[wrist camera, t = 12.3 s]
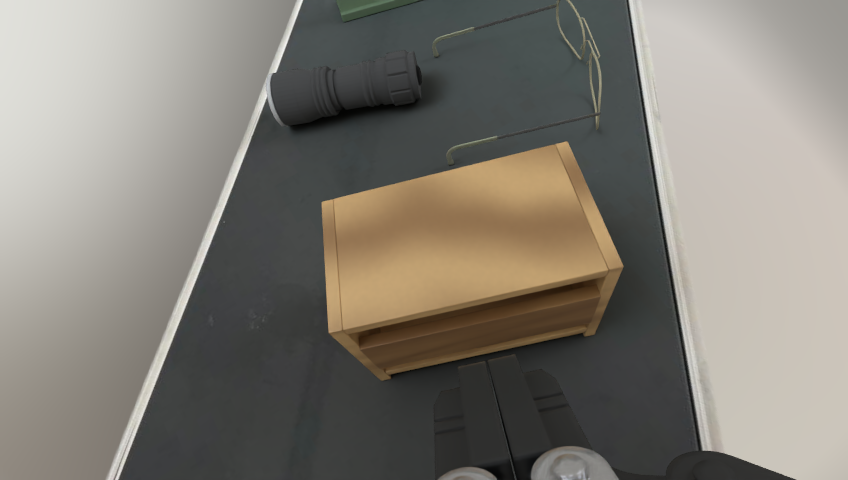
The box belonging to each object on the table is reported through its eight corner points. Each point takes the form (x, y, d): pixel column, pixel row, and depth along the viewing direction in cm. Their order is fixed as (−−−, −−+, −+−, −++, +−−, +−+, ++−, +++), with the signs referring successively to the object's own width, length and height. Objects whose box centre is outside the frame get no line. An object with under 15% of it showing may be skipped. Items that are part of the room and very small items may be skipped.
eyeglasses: (610, 136, 41) (620, 94, 37) (448, 166, 43) (440, 128, 39) (568, 28, 50) (572, -17, 45) (433, 56, 51) (425, 16, 47)
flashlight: (424, 77, 50) (414, 33, 45) (427, 112, 47) (417, 69, 43) (291, 101, 52) (269, 62, 47) (286, 137, 49) (262, 99, 44)
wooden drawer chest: (595, 337, 33) (625, 269, 23) (381, 383, 34) (328, 336, 25) (555, 231, 38) (567, 140, 28) (369, 275, 39) (321, 201, 29)
